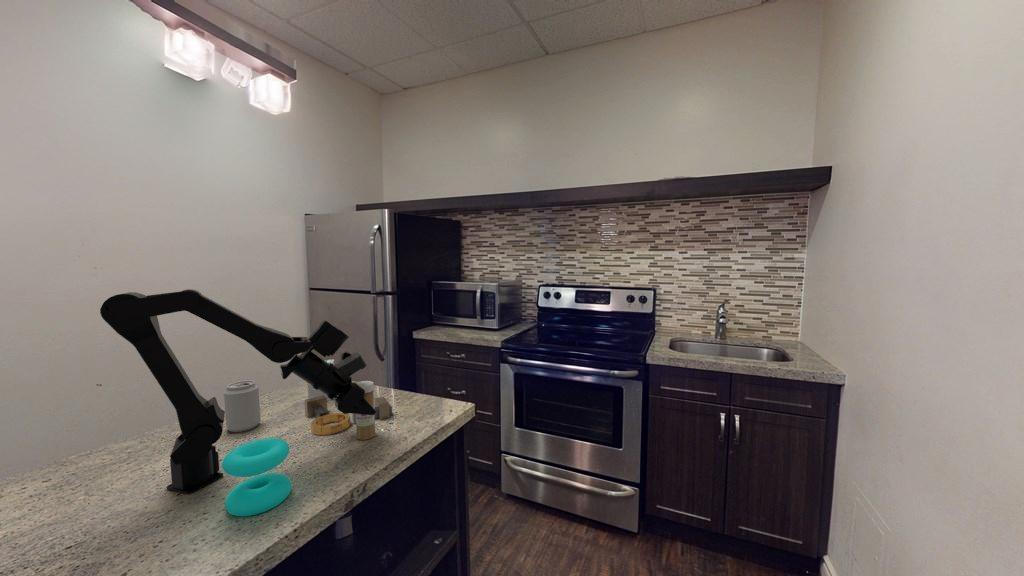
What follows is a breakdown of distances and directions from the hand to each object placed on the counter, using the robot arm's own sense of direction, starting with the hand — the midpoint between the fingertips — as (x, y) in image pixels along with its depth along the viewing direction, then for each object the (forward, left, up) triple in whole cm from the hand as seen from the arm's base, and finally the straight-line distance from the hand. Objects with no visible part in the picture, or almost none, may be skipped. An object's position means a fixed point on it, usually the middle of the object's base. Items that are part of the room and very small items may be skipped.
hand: (369, 407), depth 94 cm
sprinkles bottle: (-1, +1, -7) cm, 7 cm away
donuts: (-28, +2, -7) cm, 29 cm away
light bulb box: (+20, +34, -7) cm, 40 cm away
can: (-5, +36, -7) cm, 37 cm away
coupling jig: (+5, +15, -7) cm, 17 cm away
